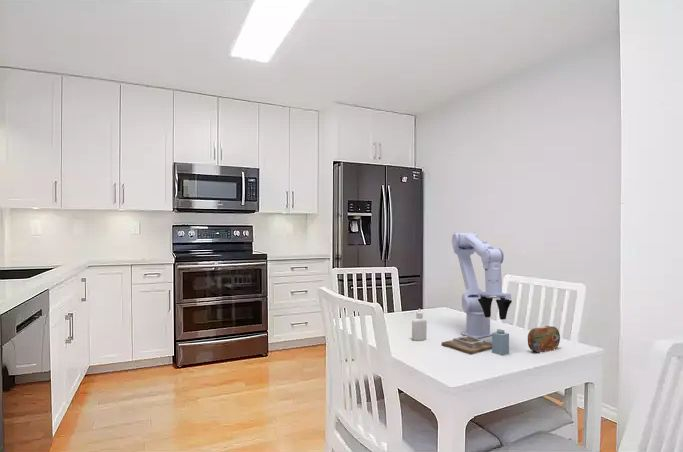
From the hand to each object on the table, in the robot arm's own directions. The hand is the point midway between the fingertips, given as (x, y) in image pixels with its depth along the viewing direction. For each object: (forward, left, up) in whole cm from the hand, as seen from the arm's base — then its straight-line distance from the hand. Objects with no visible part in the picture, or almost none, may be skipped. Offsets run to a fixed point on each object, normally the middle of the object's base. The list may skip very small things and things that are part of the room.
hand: (495, 318), depth 148 cm
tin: (-12, +12, -11) cm, 20 cm away
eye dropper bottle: (+17, -22, -11) cm, 30 cm away
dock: (+8, -6, -11) cm, 14 cm away
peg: (+5, +5, -11) cm, 13 cm away
